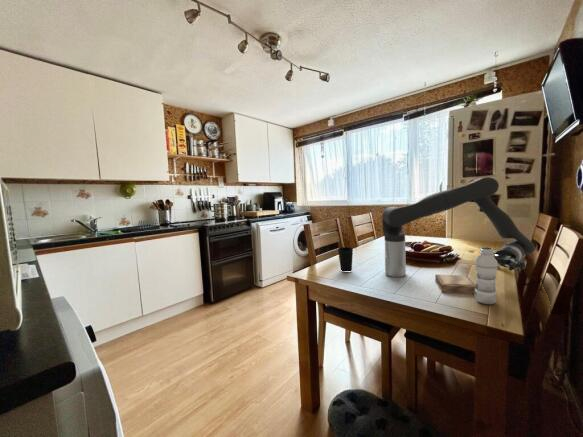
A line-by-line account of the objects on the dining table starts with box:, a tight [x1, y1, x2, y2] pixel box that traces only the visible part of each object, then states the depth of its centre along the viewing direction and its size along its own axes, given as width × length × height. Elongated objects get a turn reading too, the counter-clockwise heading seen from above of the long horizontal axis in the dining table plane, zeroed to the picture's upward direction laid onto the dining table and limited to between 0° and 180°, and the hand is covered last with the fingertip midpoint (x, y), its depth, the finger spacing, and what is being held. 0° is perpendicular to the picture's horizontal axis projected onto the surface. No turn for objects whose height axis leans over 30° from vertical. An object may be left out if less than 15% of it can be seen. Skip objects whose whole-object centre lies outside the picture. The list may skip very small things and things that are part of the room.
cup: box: [337, 246, 354, 271], centre depth 133 cm, size 8×8×12 cm
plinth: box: [434, 274, 476, 295], centre depth 105 cm, size 12×12×3 cm
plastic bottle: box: [473, 246, 499, 305], centre depth 89 cm, size 6×7×20 cm
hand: (495, 265), depth 96 cm, fingers open, 8 cm apart
